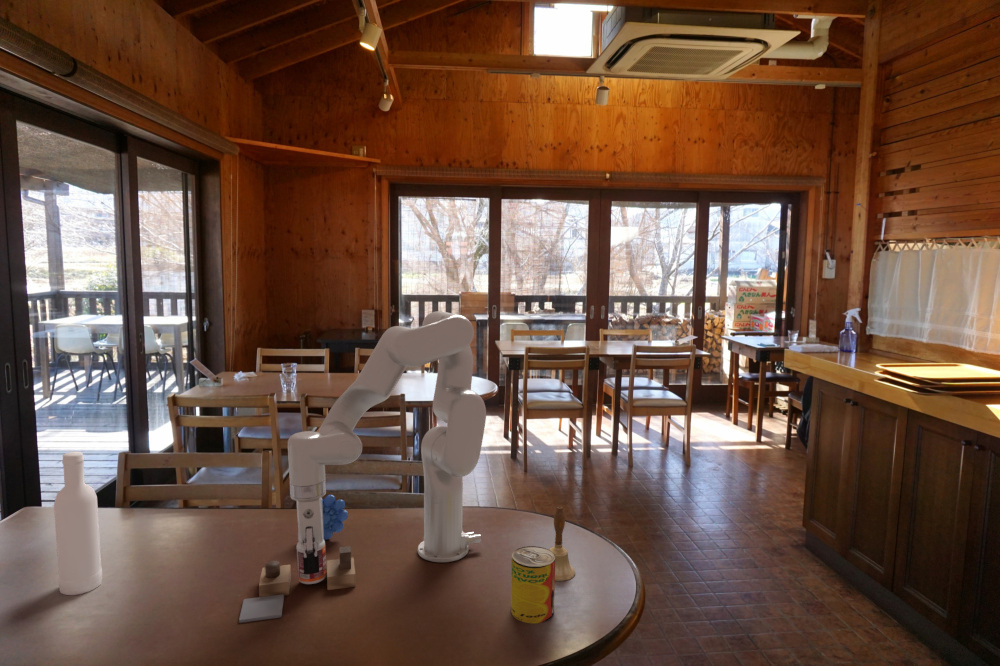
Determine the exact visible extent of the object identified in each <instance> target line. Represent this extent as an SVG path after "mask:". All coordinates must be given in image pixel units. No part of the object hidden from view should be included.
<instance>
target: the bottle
mask: <svg viewBox="0 0 1000 666" xmlns="http://www.w3.org/2000/svg"><path fill="white" fill-rule="evenodd" d="M84 462H85V457H84V453H83V451H82V452H81V451H69V452H66V453H64V454H63V455H62V461H61V464H62V466H63V467H62V468H63V478H64V480H63V481H64V486H63V487H62V488H61V489H60V491H58V492H57V493H56V496H55V499H54V503H53V511H54V524H55V527H54V528H55V542H56V553H57V554H56V555H57V568H58V587H59V593H61V594H62V595H66V596H76V595H77V596H78V595H82V594H86V593H89V592H91V591H93V590H96V589H97V588H98V587H99V586H101V584H102V583H103V567H102V559H101V558H102V556H101V541H100V540H101V539H100V527H99V526H100V525H99V524H100V523H99V522H100V521H99V511H98V509H99V507H98V505H99V504H98V496H97V493H96V491H95V489H94V488H93V487H92V486H90V485H89V484H87V483H85V482H86V481H85V469H84V468H85V466H84Z"/></svg>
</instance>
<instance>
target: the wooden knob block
mask: <svg viewBox="0 0 1000 666" xmlns="http://www.w3.org/2000/svg"><path fill="white" fill-rule="evenodd" d="M264 565H265V567H262V569H261V574H260V579H259V583H258V594H259V595H258V597H265V596H273V595H281V594H284V597H285V596H289V595H290V590H291V589H290V587H291V580H292V575H291V574H292V571H291V568H292V567H291V565H292V564H284V565H281V562H280V561H278V560H271V561H267V562H266V563H265V564H264ZM326 569H327V575H326V581H327V583H326V586H327V587H326V588H327V591H332V590H339V589H347V588H348V589H349V588H355V587H356V567H355V558H354V557H353V556H352V550H351V545H348V546H339V558H337V559H326Z"/></svg>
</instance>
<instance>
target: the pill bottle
mask: <svg viewBox="0 0 1000 666" xmlns="http://www.w3.org/2000/svg"><path fill="white" fill-rule="evenodd" d="M312 532H313V527H312ZM297 541H298V542H297V543H296V562H297V563H296V564H297V566H296V567H297V578H298V581H299V583H301V584H304V585H312V584H313V585H315V584H318V583H320V582H323V581H324V580H325V579H326V578H327V553H326V552H327V551H326V540H325V539H323V542H322V543H320V542H317V554H318V555H319V572H318V573H314V574H307V575H305V574H304V566H303V556H304V545H302V544H300V537H299V530H298V531H297ZM314 541H315V539H313V542H314ZM306 542H307V540H305V543H306ZM313 548H314V545H313ZM306 549H307V545H306Z"/></svg>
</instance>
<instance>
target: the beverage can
mask: <svg viewBox="0 0 1000 666" xmlns="http://www.w3.org/2000/svg"><path fill="white" fill-rule="evenodd" d="M510 572H511V573H510V574H511V576H510V577H511V579H510V581H511V582H510V583H511V585H510V613H511V615H512V617H513V618H515V619H516V620H518V621H520V622H522V623H527V624H541V623H545V622H547V621H549V620H551V619H552V618H553V617H554V614H555V590H556V589H555V586H556V584H555V583H556V581H555V554H554V553H553V552H552V551H550V550H549V549H548V548H546V547H541V546H536V545H533V546H532V545H531V546H530V545H529V546H522V547H519V548H517V549H515V550H513V552H512V553H511V571H510Z"/></svg>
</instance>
